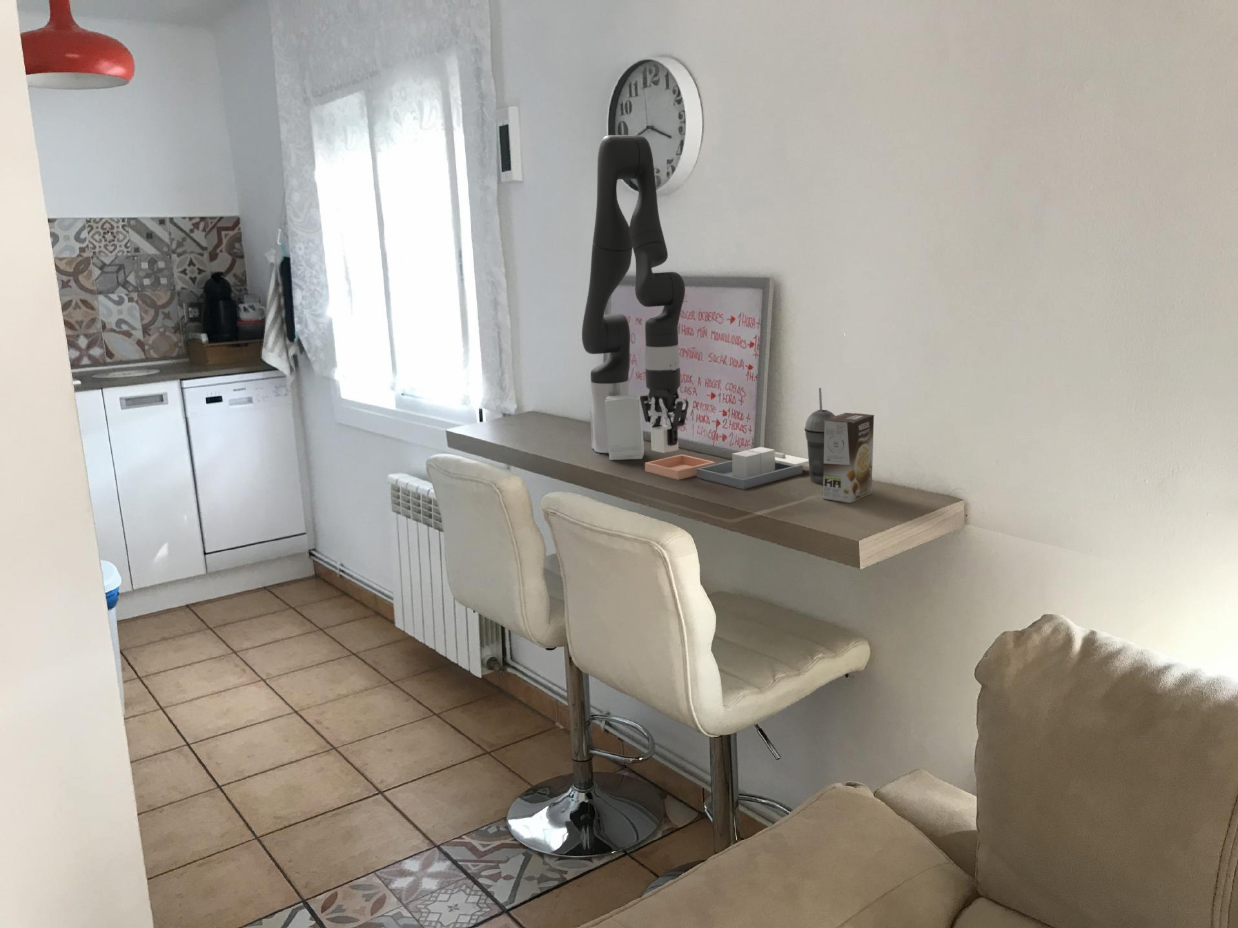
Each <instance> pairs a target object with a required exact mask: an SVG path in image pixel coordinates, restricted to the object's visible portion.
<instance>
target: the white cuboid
mask: <svg viewBox="0 0 1238 928" xmlns="http://www.w3.org/2000/svg"><path fill="white" fill-rule="evenodd" d="M731 455H732V456H731V457H732V458H731V459H732V476H733V477H737V478H742V479H746V478H750V477H753V476H757V475H760V453H756V452H751V451H747V450H743V451H742V450H741V451H739V452H738V451H737V452H734V453H732V454H731Z"/></svg>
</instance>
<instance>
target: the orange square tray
mask: <svg viewBox="0 0 1238 928" xmlns="http://www.w3.org/2000/svg"><path fill="white" fill-rule="evenodd" d="M715 464H716V462H715V461H713V460H712V461H711V460H708V459H703V458H700V457H695V456H691V455H687V454H682V453H681V454H678V455H673V456H669V457H665V458H660V459H656V460H652V461H648V462H647V461H646V462H644V469H645V470H644V471H645V472H647V473H650V474H654V475H659V476H662V477H665V478H670V479H673V480H677V481H679V480H683V479H687V478H692V477H697V469H698V468H702V467H706V466H710V465H715Z"/></svg>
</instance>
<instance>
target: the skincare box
mask: <svg viewBox="0 0 1238 928" xmlns="http://www.w3.org/2000/svg"><path fill="white" fill-rule="evenodd" d="M640 396H641V394H640V393H636V394H635V393H634V394H629V395H620V396H607V398H606V400H605V409H606V422H607V435H608V447H609V453H608V459H609V461H621V460H622V461H624V460H643V458H644V453H645V447H644V446H645V444H644V433H643V432H644V431H643V418H642V417H643V415H642V405H641V401H640Z"/></svg>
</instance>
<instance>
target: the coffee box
mask: <svg viewBox="0 0 1238 928" xmlns="http://www.w3.org/2000/svg"><path fill="white" fill-rule="evenodd" d="M874 419H875V415H874V414H866V413H856V412H855V413H851V412H844V413H840V414H837V415H835V416H834V417H831V418H827V419H824V421H825V424H824V472H823V473H824V475H823V484H822V499H823V500H829V501H830V500H831V501H835V502H842V503H847V504H851V503H854V502H856V501H858V500H861V499H863V498H865V497H866V496H868V495H870V494H872V492H873V490H872V488H873V458H874V454H873V453H874V422H875V420H874Z"/></svg>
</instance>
